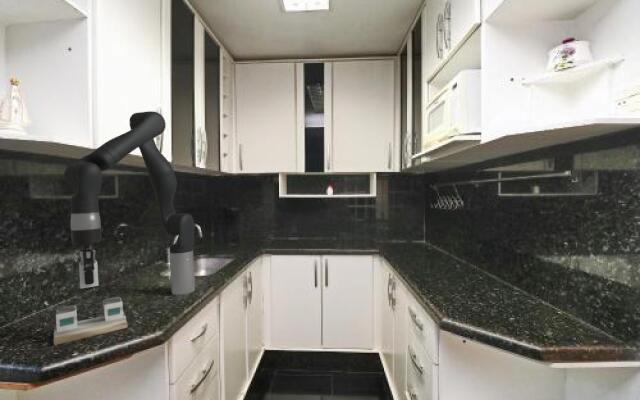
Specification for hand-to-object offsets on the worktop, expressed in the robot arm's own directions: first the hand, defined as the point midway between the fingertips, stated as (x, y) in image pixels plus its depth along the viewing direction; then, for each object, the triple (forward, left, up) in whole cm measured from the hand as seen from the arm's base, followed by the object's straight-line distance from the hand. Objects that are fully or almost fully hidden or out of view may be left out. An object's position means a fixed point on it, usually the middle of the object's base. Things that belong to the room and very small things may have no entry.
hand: (89, 281), depth 102 cm
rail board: (0, 0, -15) cm, 15 cm away
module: (0, 0, -1) cm, 1 cm away
